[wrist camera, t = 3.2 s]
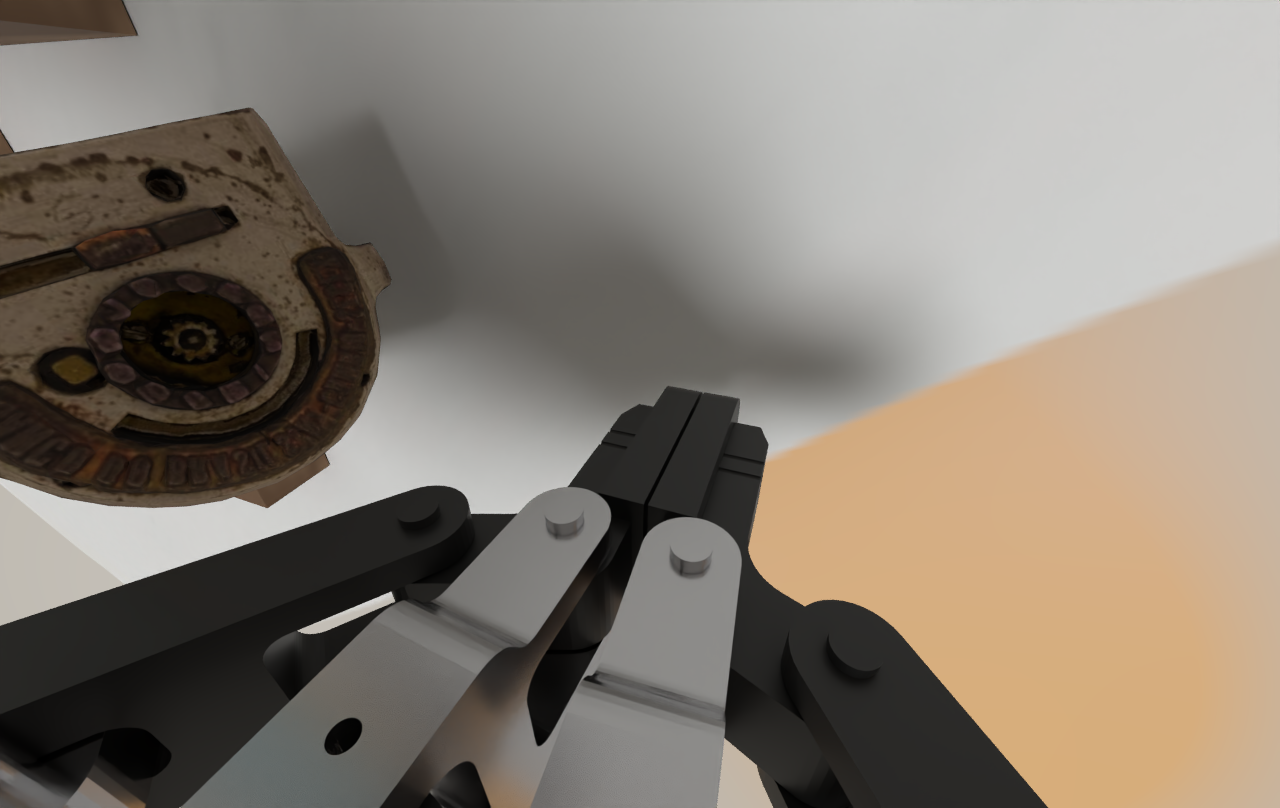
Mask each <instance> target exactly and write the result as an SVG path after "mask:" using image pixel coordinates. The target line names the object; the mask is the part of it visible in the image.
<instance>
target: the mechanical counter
mask: <svg viewBox="0 0 1280 808" xmlns="http://www.w3.org/2000/svg"><path fill="white" fill-rule="evenodd" d="M391 280H392V279H391V277H390V275H389V272H388V270H387V267H386V265H385V262H384V261H383V259H382V258H381V257H380V255H379V254H378V252H377V251H376V250H375V248H374V247H373V245H372V244H371V243H366V244H362V245H357V246H352V245H345V244H343V243H342V242H341V241H340V240H339V239H337V238H336V236H335V235H334V233H333V232H332V230H331V228H330V227H329V225H328V224H327V222H326V220H325V219H324V217H323V215H322V214H321V212H320V211H319V209H318V207H317V206H316V204H315V203H314V201H313V199H312V198H311V196H310V194H309V193H308V191H307V190H306V188H305V186H304V185H303V183H302V182H301V180H300V178H299V177H298V175H297V173H296V172H295V170H294V169H293V167H292V165H291V164H290V162H289V161H288V159H287V157H286V156H285V154H284V152H283V151H282V149H281V147H280V146H279V144H278V142H277V140H276V139H275V137H274V135H273V134H272V132H271V130H270V129H269V127H268V125H267V124H266V123H265V122H264V121H263V119H262V118H261V117H260V116H259V115H258V114H257V113H256V112H255V110H254V109H253V108H245V109H240V110H235V111H230V112H225V113H220V114H215V115H209V116H204V117H199V118H193V119H188V120H183V121H177V122H172V123H167V124H162V125H157V126H152V127H148V128H143V129H138V130H133V131H128V132H124V133H119V134H114V135H109V136H104V137H99V138H94V139H89V140H83V141H78V142H73V143H68V144H62V145H56V146H50V147H44V148H39V149H33V150H27V151H21V152H15V153H9V154H3V155H0V478H3V479H7V480H10V481H14V482H17V483H20V484H23V485H26V486H29V487H31V488H34V489H37V490H40V491H43V492H46V493H49V494H52V495H55V496H58V497H61V498H66V499H72V500H78V501H84V502H90V503H96V504H101V505H107V506H125V507H147V508H159V507H182V506H192V505H198V504H205V503H211V502H217V501H223V500H226V499H229V498H232V497H235V496H238V495H241V494H245V493H248V492H251V491H254V490H257V489H260V488H263V487H266V486H270V485H273V484H276V483H278V482H280V481H282V480H283V479H285V478H287V477H288V476H290V475H292V474H294V473H295V472H297V471H299V470H300V469H302V468H304V467H305V466H307V465H309V464H311V463H312V462H314V461H316V460H317V459H318V458H319V457H321V456H322V455H323V454H324V453H325V452H326V451H328V450H329V449H330V448H331V447H332V446H334V445H335V444H336V443H337V442H338V441H339V440H341V438H342V437H343V436H344V435H345V433H346V432H347V431H348V430H349V428H350V427H351V426H352V425H353V424H354V422H355V421H356V420H357V419H358V417H359V416H360V414H361V412H362V410H363V408H364V405H365V403H366V401H367V398H368V396H369V394H370V391H371V389H372V387H373V384H374V382H375V380H376V377H377V373H378V363H379V353H380V342H381V339H380V331H379V324H378V319H377V313H376V308H375V304H376V297H377V296H378V295H379V293H380V292H381V291H382V290H383V289H384V288H386V287H387V286H389V285H390V284H391Z"/></svg>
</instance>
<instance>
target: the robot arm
mask: <svg viewBox="0 0 1280 808" xmlns="http://www.w3.org/2000/svg"><path fill="white" fill-rule="evenodd" d="M739 407H740V399H738V398H733V397H727V396H722V395H716V394H710V393H702V392H699V391H693V390H687V389H682V388H676V387H671V386H667V387H666V389H665V390H664V392H663V393H662V395H661V396H660V398H659V399H658V401H657V402H656V404H655V406H654V407H652V406H647V405H641V404H639V405H637V406H635V407H634V408H632V409H630V410H628V411H627V412H625V413H623V414H621V416H620V417H619V418H618V420H617V421H616V422H615V424H614V425H613V426H612V428H611V429H610V432H608V433H607V434H606V436H605V437H604V439H603V440H602V442H601V444H599V445H598V447H597V448H596V449H595V451H594V452H593V453H592V455H591V456H590V457H589V459H588V460H587V462H586V463H585V464H584V466H583V467H582V468H581V470H580V471H579V472H578V474H577V475H576V476H575V478H574V479H573V480H572V482H571V483H570V485H569V486H568V487H563V488H557V489H553V490H549V491H547V492H544V493H542V494H540V495H538V496H536V497H535V498H533V499H532V500H531V501H530V502H529V503H528V504H526V505H525V507H524V508H523V509H522V510H521V511H520V512H519V513H518V514H471V512H470V508H469V504H468V501H467V498H466V497H465V495H464V494H463V493H461V492H460V491H458V490H457V489H454V488H451V487H447V486H426V487H420V488H417V489H413V490H410V491H407V492H404V493H401V494H398V495H395V496H392V497H389V498H386V499H383V500H380V501H377V502H374V503H371V504H368V505H365V506H362V507H358V508H355V509H352V510H349V511H346V512H343V513H340V514H337V515H334V516H331V517H328V518H325V519H322V520H319V521H316V522H313V523H310V524H307V525H304V526H301V527H298V528H295V529H292V530H289V531H286V532H283V533H280V534H277V535H274V536H271V537H268V538H265V539H262V540H259V541H256V542H253V543H249V544H246V545H243V546H240V547H237V548H234V549H231V550H228V551H225V552H222V553H219V554H216V555H213V556H210V557H207V558H204V559H201V560H198V561H195V562H192V563H189V564H186V565H183V566H180V567H177V568H174V569H171V570H168V571H165V572H162V573H159V574H156V575H153V576H150V577H147V578H144V579H141V580H137V581H134V582H131V583H128V584H125V585H122V586H120V587H116V588H113V589H110V590H107V591H104V592H101V593H98V594H95V595H92V596H89V597H86V598H83V599H80V600H77V601H74V602H71V603H68V604H65V605H62V606H59V607H56V608H53V609H50V610H47V611H44V612H41V613H38V614H35V615H32V616H29V617H25V618H23V619H19V620H16V621H13V622H10V623H7V624H4V625H1V626H0V808H179V807H181V806H182V807H181V808H717V801H718V800H717V799H718V792H719V782H720V773H721V765H722V755H723V746H724V738H725V739H726V740H728V741H729V742H730V743H731V744H732V745H734V746H735V747H736V748H737V749H738V750H739V751H741V752H742V753H743V754H744V755H746V756H747V757H748V758H749V759H750V760H752V761H753V762H754V763H755V764H756V765H757V768H758V772H759V775H760V778H761V781H762V783H763V786H764V788H765V790H766V792H767V794H768V797H769V799H770V801H771V803H772V805H773V808H1048V807H1047V806H1046V805H1045V804H1044V802H1043V801H1042V800H1041V799H1040V798H1039V796H1038V795H1037V794H1036V793H1035V792H1034V791H1033V789H1032V788H1031V787H1030V786H1029V785H1028V784H1027V782H1026V781H1025V780H1024V779H1023V778H1022V777H1021V776H1020V774H1019V773H1018V772H1017V771H1016V770H1015V768H1014V767H1013V766H1012V765H1011V764H1010V763H1009V761H1008V760H1007V759H1006V758H1005V757H1004V755H1003V754H1002V753H1001V752H1000V751H999V750H998V748H997V747H996V746H995V745H994V744H993V743H992V741H991V740H990V739H989V738H988V737H987V736H986V734H985V733H984V732H983V731H982V730H981V729H980V728H979V726H978V725H977V724H976V723H975V721H974V720H973V719H972V718H971V717H970V716H969V714H968V713H967V712H966V711H965V710H964V709H963V707H962V706H961V705H960V704H959V703H958V701H957V700H956V699H955V698H954V697H953V696H952V694H951V693H950V692H949V691H948V690H947V689H946V687H945V686H944V685H943V684H942V683H941V682H940V680H939V679H938V678H937V677H936V676H935V675H934V673H933V672H932V671H931V670H930V669H929V667H928V666H927V665H926V664H925V663H924V662H923V660H922V659H921V658H920V657H919V656H918V655H917V654H916V652H915V651H914V650H913V649H912V648H911V646H910V645H909V644H908V643H907V642H906V641H905V639H904V638H903V637H902V636H901V635H900V634H899V633H898V632H897V631H896V630H895V629H894V627H892V626H891V625H890V624H889V623H888V622H886V621H885V620H884V619H883V618H881V617H880V616H878V615H877V614H875V613H873V612H871V611H870V610H868V609H866V608H864V607H861V606H859V605H856V604H853V603H849V602H845V601H839V600H822V601H817V602H814V603H811V604H809V605H807V606H803V605H801V604H800V603H798V602H796V601H794V600H793V599H791V598H790V597H788V596H786V595H784V594H783V593H781V592H780V591H778V590H777V589H775V588H774V587H773V586H772V585H770V584H769V583H768V582H767V581H766V580H765V579H764V578H763V577H762V576H761V575H760V574H759V572H758V571H757V569H756V568H755V566H754V565H753V562H752V560H751V558H750V555H749V551H748V546H749V542H750V537H751V532H752V527H753V522H754V518H755V513H756V508H757V504H758V498H759V492H760V487H761V482H762V477H763V471H764V465H765V460H766V455H767V450H768V442H767V440H766V438H765V436H764V434H763V431H762V429H761V428H760V427H755V426H750V425H745V424H740V423H737V422H738V414H739ZM389 592H392V594H393V597H394V599H395V602H394V603H391V604H389V605H387V606H384V607H382V608H379V609H377V610H375V611H372V612H370V613H368V614H366V615H363V616H361V617H358V618H356V619H354V620H351V621H349V622H347V623H344V624H342V625H340V626H337V627H335V628H332V629H330V630H328V631H325V632H322V633H317V634H304V633H301V632H298V631H297V630H299V629H302V628H304V627H307V626H309V625H311V624H314V623H316V622H319V621H321V620H324V619H326V618H328V617H331V616H333V615H336V614H338V613H340V612H343V611H345V610H348V609H350V608H352V607H355V606H357V605H360V604H362V603H364V602H367V601H369V600H372V599H374V598H377V597H379V596H381V595H384V594H386V593H389Z"/></svg>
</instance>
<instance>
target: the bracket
mask: <svg viewBox="0 0 1280 808" xmlns="http://www.w3.org/2000/svg"><path fill="white" fill-rule="evenodd" d="M136 35H137V34H136V32H135V30H134V28H133V25H132V23H131V21H130V19H129V17H128V14H127V12H126V10H125V8H124V5H123V3H122V1H121V0H0V45H10V44H24V43H38V42H52V41H66V40H80V39H94V38H108V37H122V36H136ZM9 153H13V151H12V150H11V148H10V147H9V145H8V143H7V142H6V140H5V139H4V137H3V135H2V134H1V132H0V155H3V154H9ZM328 466H329V463H328V461H327V459H326V456H325V454H323V455H322V456H321V457H319V458H318V459H317V460H316V461H314V462H312V463H311V464H309V465H307V466H305V467H304V468H302V469H300V470H299V471H297V472H295V473H294V474H292V475H290V476H288V477H287V478H285V479H283V480H282V481H280V482H278V483H276V484H273V485H270V486H266V487H263V488H260V489H257V490H254V491H251V492H248V493H245V494H241V495H238V496H235V497H236V498H239V499H242V500H245V501H248V502H251V503H254V504H257V505H260V506H262V507H265V508H269V507H270V506H271V505H273V504H274V503H276V502H277V501H279V500H280V499H282V498H283V497H284V496H286V495H287V494H289V493H290V492H292V491H293V490H294V489H296V488H297V487H299V486H300V485H302V484H303V483H305V482H306V481H307V480H309V479H310V478H312V477H313V476H315V475H316V474H318V473H319V472H320V471H322V470H323V469H325V468H326V467H328Z"/></svg>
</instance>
